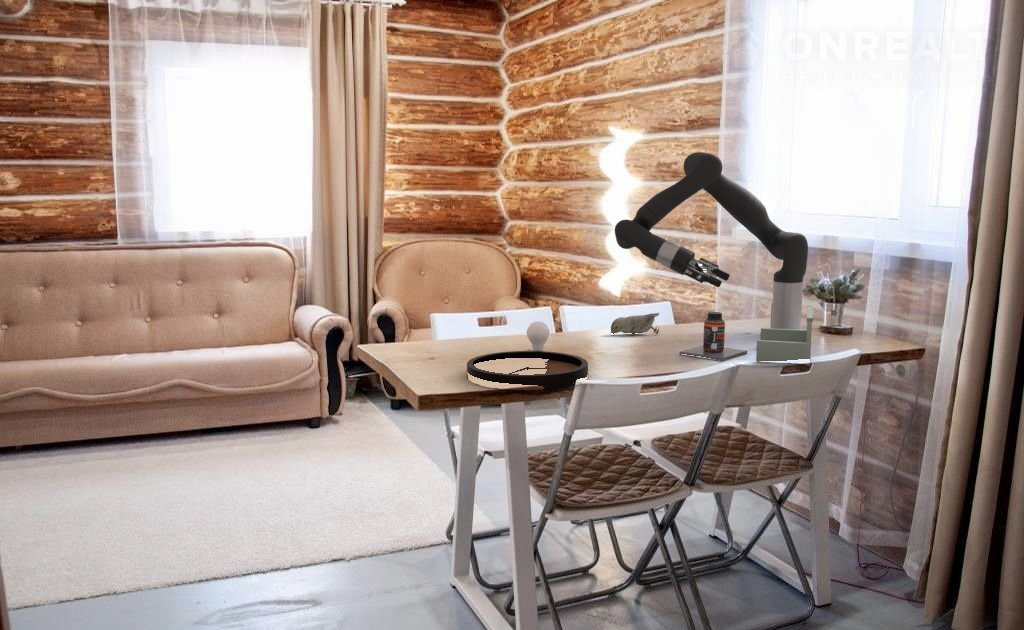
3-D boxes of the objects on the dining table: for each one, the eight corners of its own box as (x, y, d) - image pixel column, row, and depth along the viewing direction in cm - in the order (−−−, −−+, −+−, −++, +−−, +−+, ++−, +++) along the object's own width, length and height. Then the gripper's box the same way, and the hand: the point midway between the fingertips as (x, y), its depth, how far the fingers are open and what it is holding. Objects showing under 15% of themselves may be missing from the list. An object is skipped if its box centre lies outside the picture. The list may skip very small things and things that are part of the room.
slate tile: (679, 354, 249) (679, 351, 249) (704, 347, 259) (704, 344, 259) (723, 361, 239) (723, 357, 239) (747, 353, 249) (747, 350, 249)
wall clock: (550, 346, 243) (611, 367, 215) (550, 360, 243) (611, 383, 215) (448, 357, 229) (499, 381, 201) (448, 372, 229) (499, 397, 202)
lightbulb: (544, 356, 247) (543, 319, 245) (552, 361, 241) (552, 322, 239) (523, 358, 245) (523, 320, 243) (532, 362, 239) (531, 324, 237)
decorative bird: (609, 334, 284) (609, 312, 283) (656, 333, 285) (657, 311, 284) (612, 337, 278) (613, 314, 277) (661, 336, 280) (661, 314, 279)
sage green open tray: (756, 362, 238) (757, 315, 236) (760, 347, 259) (762, 304, 257) (810, 365, 234) (813, 318, 232) (810, 350, 254) (812, 306, 252)
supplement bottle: (719, 353, 245) (720, 314, 243) (699, 351, 248) (700, 312, 247) (727, 350, 250) (728, 312, 248) (708, 348, 253) (709, 310, 251)
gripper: (672, 250, 247) (723, 275, 242) (687, 241, 259) (736, 264, 254) (662, 273, 251) (713, 298, 245) (678, 263, 263) (726, 286, 257)
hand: (724, 281), depth 250 cm, fingers open, 8 cm apart
